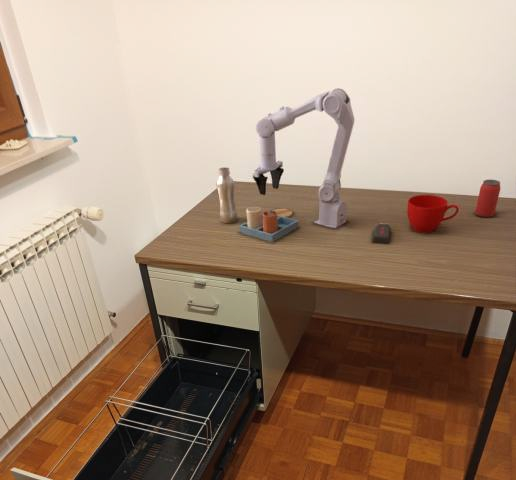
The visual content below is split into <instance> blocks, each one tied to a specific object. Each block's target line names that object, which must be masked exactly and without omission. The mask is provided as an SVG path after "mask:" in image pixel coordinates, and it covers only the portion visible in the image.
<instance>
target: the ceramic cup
mask: <svg viewBox="0 0 516 480" xmlns="http://www.w3.org/2000/svg"><path fill="white" fill-rule="evenodd" d="M451 208H452V209H453V208H455V209H456V210H455V212H454V213H453V214H452V215H449V216H446V213H447V212H448V210H450V209H451ZM459 210H460V209H459V207H458V205H456V204H450V205H449V204H448V200H447V199H446V198H444V197H442V196H439V195H432V194H419V195H414V196H410V197H409V199H408V200H407V211H406V212H407V219H408V222H409V224H410V225H411V227H412V228H413V230H414V231H416V232H418V233H423V234H424V233H426V234H427V233H431V232H433V231H435V229H436V228H437V227H439V225H441V223H442V222H444V221H448V220H451V219H454V218H455V217H456V216H457V214H458V213H459ZM445 216H446V217H445Z"/></svg>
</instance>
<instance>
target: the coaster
mask: <svg viewBox="0 0 516 480" xmlns="http://www.w3.org/2000/svg"><path fill="white" fill-rule="evenodd" d="M271 211H275V212H277V215H278V216H282V217H286V218H289V217H290V216H292V215H293V214H294V213H293V211H292V210H291V209H288V208H276V209H272V210H271Z"/></svg>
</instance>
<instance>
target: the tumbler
mask: <svg viewBox="0 0 516 480" xmlns="http://www.w3.org/2000/svg"><path fill="white" fill-rule="evenodd" d="M261 214H262V219H263V232H266V233H270V234H273V233H275V232H277V231H278V224H277V212H275V211H272V210H265V211H263V212H261Z"/></svg>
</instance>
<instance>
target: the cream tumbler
mask: <svg viewBox="0 0 516 480" xmlns="http://www.w3.org/2000/svg"><path fill="white" fill-rule="evenodd" d="M245 212H246V222H247V227H249V228H252V229H258V228H260V227H261V226H262V220H261V214H262V208H261V207H260V206H250V207H247V208H246V211H245Z"/></svg>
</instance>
